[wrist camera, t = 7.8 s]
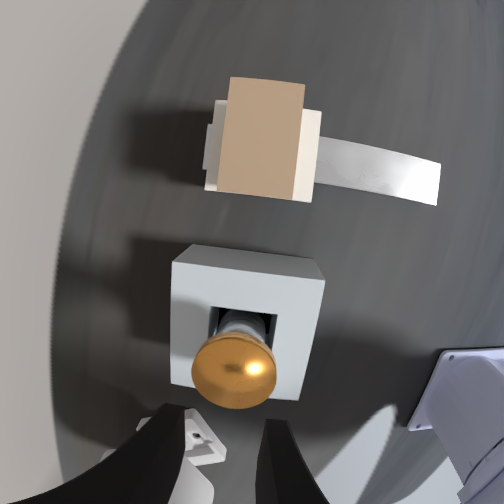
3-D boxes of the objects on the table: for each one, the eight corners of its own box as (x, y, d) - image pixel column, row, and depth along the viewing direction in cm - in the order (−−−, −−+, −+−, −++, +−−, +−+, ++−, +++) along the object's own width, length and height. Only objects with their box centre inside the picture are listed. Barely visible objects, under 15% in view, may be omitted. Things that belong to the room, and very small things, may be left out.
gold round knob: (279, 302, 15) (283, 347, 11) (270, 359, 16) (270, 413, 12) (212, 294, 15) (192, 335, 11) (208, 351, 16) (190, 402, 12)
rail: (428, 164, 16) (440, 164, 14) (424, 203, 16) (435, 205, 15) (212, 128, 16) (207, 123, 15) (208, 170, 17) (202, 169, 15)
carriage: (313, 121, 16) (341, 86, 9) (304, 199, 16) (328, 210, 10) (223, 111, 16) (196, 70, 9) (213, 188, 17) (180, 193, 10)
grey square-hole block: (313, 258, 18) (325, 280, 14) (293, 362, 19) (298, 400, 15) (192, 243, 18) (172, 261, 14) (187, 348, 19) (171, 383, 15)
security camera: (123, 417, 21) (75, 503, 12) (192, 403, 20) (156, 512, 11) (163, 462, 23) (134, 545, 13) (230, 453, 22) (215, 551, 12)
